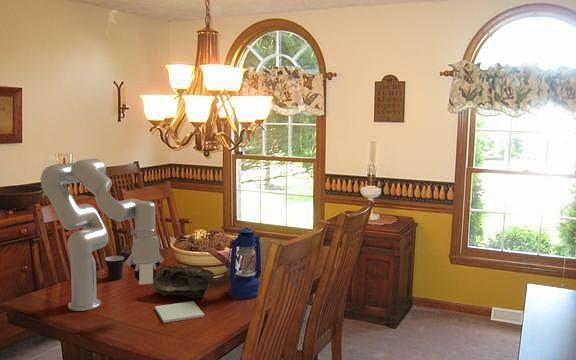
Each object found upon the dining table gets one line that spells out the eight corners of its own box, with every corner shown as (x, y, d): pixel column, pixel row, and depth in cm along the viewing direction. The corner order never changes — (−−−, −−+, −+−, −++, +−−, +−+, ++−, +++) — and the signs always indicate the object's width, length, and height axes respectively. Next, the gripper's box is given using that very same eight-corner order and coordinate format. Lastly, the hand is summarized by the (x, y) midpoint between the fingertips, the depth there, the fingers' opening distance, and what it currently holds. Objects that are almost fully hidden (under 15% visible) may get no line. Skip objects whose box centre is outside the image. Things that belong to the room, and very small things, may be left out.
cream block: (137, 280, 207) (137, 260, 206) (150, 279, 209) (150, 259, 208) (139, 284, 203) (139, 264, 201) (152, 283, 205) (153, 263, 204)
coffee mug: (121, 281, 250) (120, 261, 249) (102, 281, 250) (102, 260, 249) (128, 274, 262) (128, 254, 260) (111, 273, 262) (111, 254, 260)
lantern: (239, 302, 227) (240, 233, 223) (219, 292, 238) (220, 227, 234) (271, 293, 238) (272, 228, 234) (250, 285, 249) (251, 222, 246)
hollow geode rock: (214, 310, 230) (224, 278, 238) (205, 297, 220) (216, 265, 228) (156, 300, 237) (168, 270, 246) (145, 287, 227) (158, 257, 236)
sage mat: (155, 308, 217) (155, 306, 217) (193, 303, 224) (193, 301, 223) (163, 322, 202) (163, 320, 202) (204, 316, 209) (204, 314, 209)
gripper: (123, 237, 196) (123, 284, 199) (169, 234, 204) (169, 279, 206) (120, 232, 203) (121, 278, 205) (165, 230, 210) (164, 274, 213)
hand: (145, 278), depth 206 cm, fingers closed on cream block, 5 cm apart
